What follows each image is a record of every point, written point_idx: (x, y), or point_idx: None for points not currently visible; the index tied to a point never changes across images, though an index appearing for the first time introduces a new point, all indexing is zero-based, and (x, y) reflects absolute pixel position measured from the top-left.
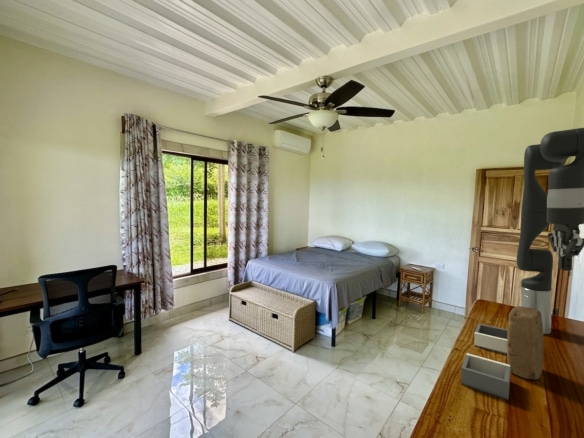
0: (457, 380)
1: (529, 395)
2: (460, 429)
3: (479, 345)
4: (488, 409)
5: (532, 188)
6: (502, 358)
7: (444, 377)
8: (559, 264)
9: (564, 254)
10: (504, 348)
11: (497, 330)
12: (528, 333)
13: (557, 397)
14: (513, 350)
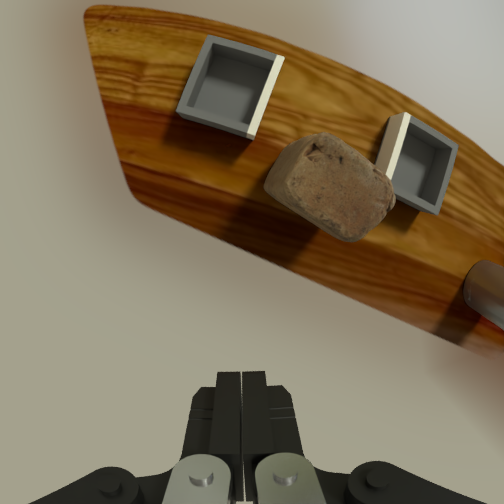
0: None
1: (212, 160)
2: (93, 44)
3: (388, 125)
4: (146, 81)
5: None
6: None
7: (226, 24)
8: (251, 393)
9: (132, 476)
10: None
11: (440, 181)
12: (276, 176)
13: (222, 209)
14: (286, 149)
